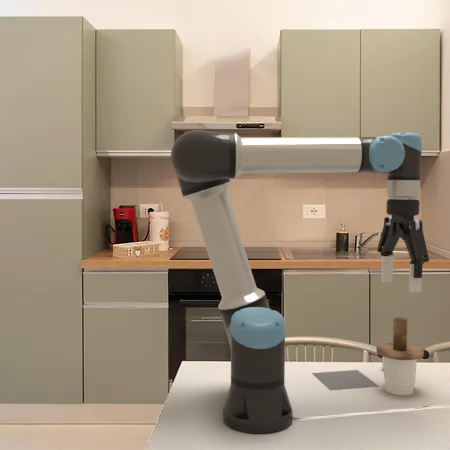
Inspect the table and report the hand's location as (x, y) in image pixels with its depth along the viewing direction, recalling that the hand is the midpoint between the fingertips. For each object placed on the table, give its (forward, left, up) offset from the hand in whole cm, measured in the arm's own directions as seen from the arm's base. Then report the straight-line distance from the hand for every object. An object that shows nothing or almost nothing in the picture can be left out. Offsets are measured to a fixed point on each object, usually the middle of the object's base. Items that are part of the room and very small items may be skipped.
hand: (400, 286), depth 141 cm
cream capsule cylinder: (+6, +14, -26) cm, 30 cm away
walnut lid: (0, 0, -16) cm, 16 cm away
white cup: (0, 0, -27) cm, 27 cm away
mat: (-10, +10, -26) cm, 30 cm away
